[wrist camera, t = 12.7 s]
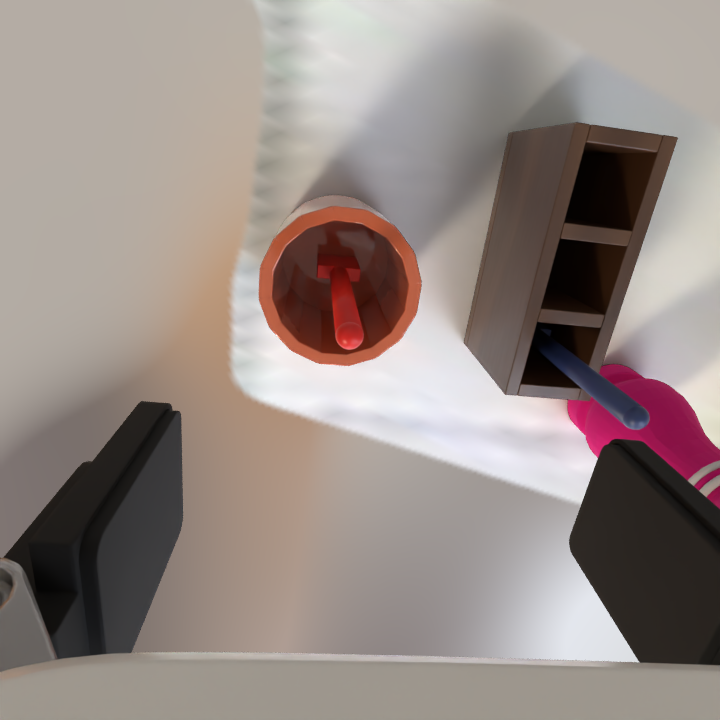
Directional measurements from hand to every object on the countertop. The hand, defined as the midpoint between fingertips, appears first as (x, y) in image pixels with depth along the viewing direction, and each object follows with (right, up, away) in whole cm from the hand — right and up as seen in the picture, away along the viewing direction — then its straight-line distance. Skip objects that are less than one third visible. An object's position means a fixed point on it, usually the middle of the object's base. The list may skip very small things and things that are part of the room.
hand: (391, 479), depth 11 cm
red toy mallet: (-2, +9, +22) cm, 24 cm away
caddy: (+11, +10, +23) cm, 28 cm away
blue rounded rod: (+10, +6, +24) cm, 27 cm away
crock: (-2, +10, +23) cm, 25 cm away
